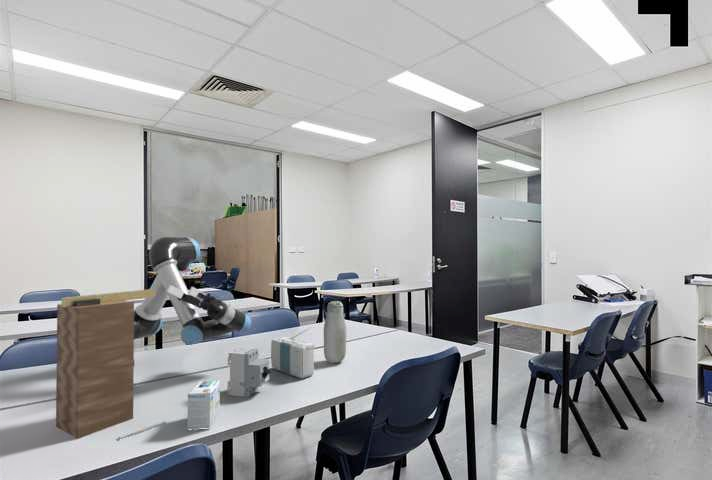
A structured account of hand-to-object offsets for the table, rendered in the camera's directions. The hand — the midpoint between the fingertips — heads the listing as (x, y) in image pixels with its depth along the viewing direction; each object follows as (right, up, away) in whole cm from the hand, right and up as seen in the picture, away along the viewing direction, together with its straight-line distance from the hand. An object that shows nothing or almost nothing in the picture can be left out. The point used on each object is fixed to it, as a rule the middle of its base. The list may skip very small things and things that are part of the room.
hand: (179, 289), depth 140 cm
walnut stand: (-14, -37, -24) cm, 47 cm away
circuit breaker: (+26, -38, 0) cm, 46 cm away
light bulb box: (+19, -37, -24) cm, 48 cm away
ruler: (+3, -38, -30) cm, 48 cm away
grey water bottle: (+55, -38, +36) cm, 76 cm away
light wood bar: (-12, -1, -19) cm, 23 cm away
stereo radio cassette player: (+38, -38, +22) cm, 58 cm away
